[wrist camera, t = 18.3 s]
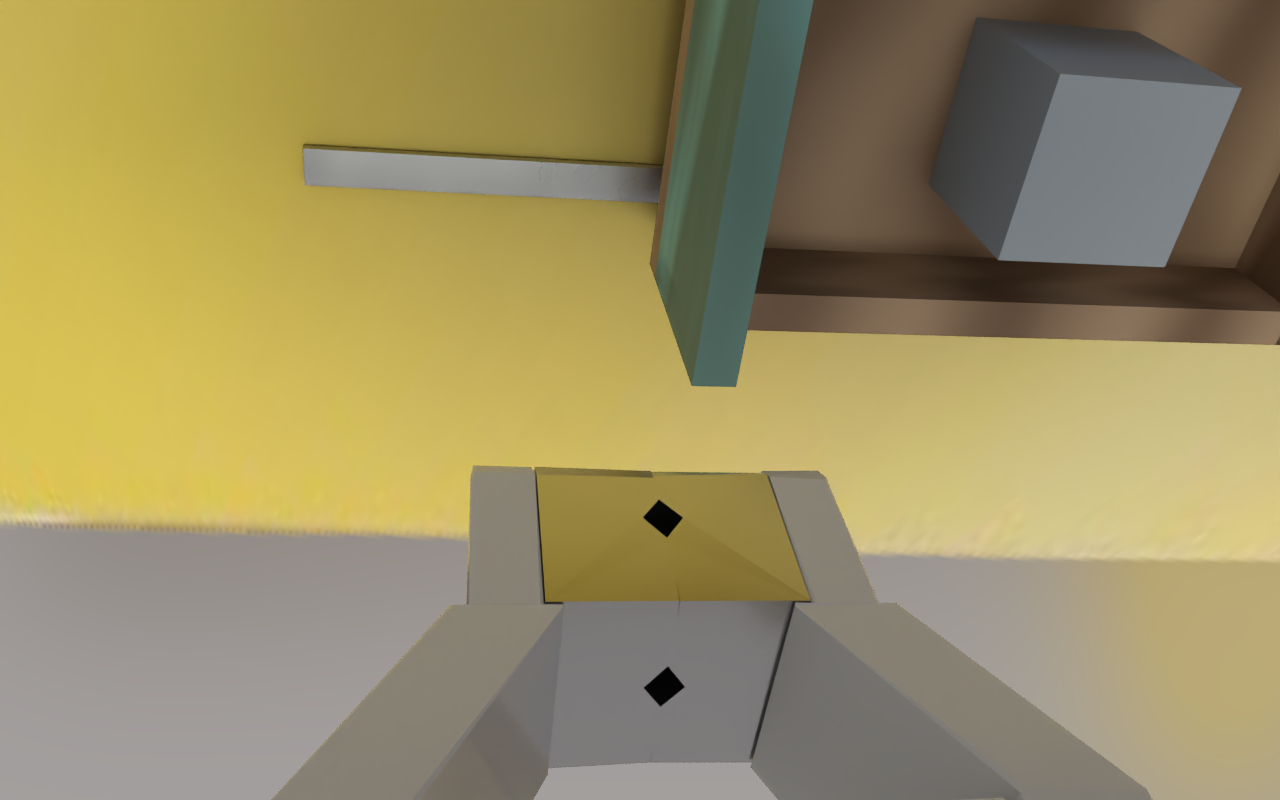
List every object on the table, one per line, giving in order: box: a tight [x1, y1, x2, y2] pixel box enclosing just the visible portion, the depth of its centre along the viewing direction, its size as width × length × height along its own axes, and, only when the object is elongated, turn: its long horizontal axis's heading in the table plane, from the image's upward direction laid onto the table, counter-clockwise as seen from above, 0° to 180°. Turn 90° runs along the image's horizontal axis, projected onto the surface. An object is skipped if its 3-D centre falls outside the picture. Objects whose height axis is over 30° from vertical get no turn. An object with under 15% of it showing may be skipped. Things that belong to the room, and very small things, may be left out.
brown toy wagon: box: [650, 0, 1280, 387], centre depth 31 cm, size 21×12×10 cm, turn 83°
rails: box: [303, 145, 663, 203], centre depth 34 cm, size 31×10×1 cm, turn 83°
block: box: [929, 17, 1242, 267], centre depth 30 cm, size 5×5×5 cm
